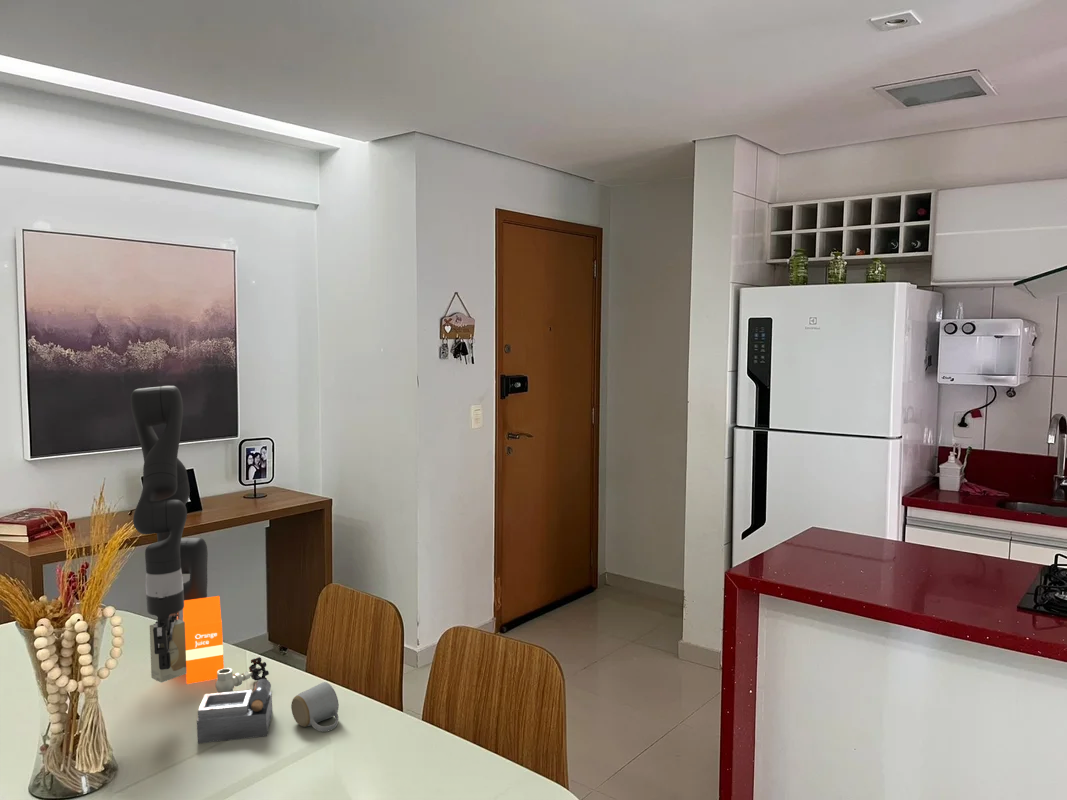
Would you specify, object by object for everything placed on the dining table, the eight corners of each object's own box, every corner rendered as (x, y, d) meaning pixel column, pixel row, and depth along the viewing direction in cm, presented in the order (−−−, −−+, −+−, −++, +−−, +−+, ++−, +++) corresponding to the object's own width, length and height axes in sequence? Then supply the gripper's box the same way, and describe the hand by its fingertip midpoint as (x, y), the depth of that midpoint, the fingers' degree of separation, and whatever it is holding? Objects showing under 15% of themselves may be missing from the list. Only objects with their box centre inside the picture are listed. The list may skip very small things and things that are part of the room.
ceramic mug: (289, 722, 182) (288, 689, 181) (320, 709, 188) (320, 677, 187) (316, 738, 175) (315, 704, 174) (348, 724, 181) (347, 691, 180)
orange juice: (185, 672, 209) (181, 596, 207) (222, 666, 212) (219, 591, 210) (186, 684, 201) (182, 605, 200) (224, 677, 205) (221, 600, 203)
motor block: (207, 719, 184) (205, 682, 183) (272, 712, 186) (271, 676, 186) (197, 743, 173) (195, 704, 172) (266, 736, 176) (265, 697, 175)
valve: (226, 704, 191) (269, 686, 200) (225, 677, 190) (268, 660, 200) (209, 697, 195) (252, 679, 204) (208, 670, 194) (251, 654, 204)
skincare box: (161, 683, 178) (157, 629, 177) (150, 678, 181) (147, 625, 180) (188, 673, 184) (185, 620, 182) (178, 668, 186) (175, 616, 185)
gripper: (154, 580, 186) (158, 650, 188) (138, 602, 172) (142, 677, 174) (189, 578, 188) (193, 647, 190) (176, 599, 174) (180, 673, 176)
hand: (169, 661), depth 182 cm, fingers closed on skincare box, 7 cm apart
